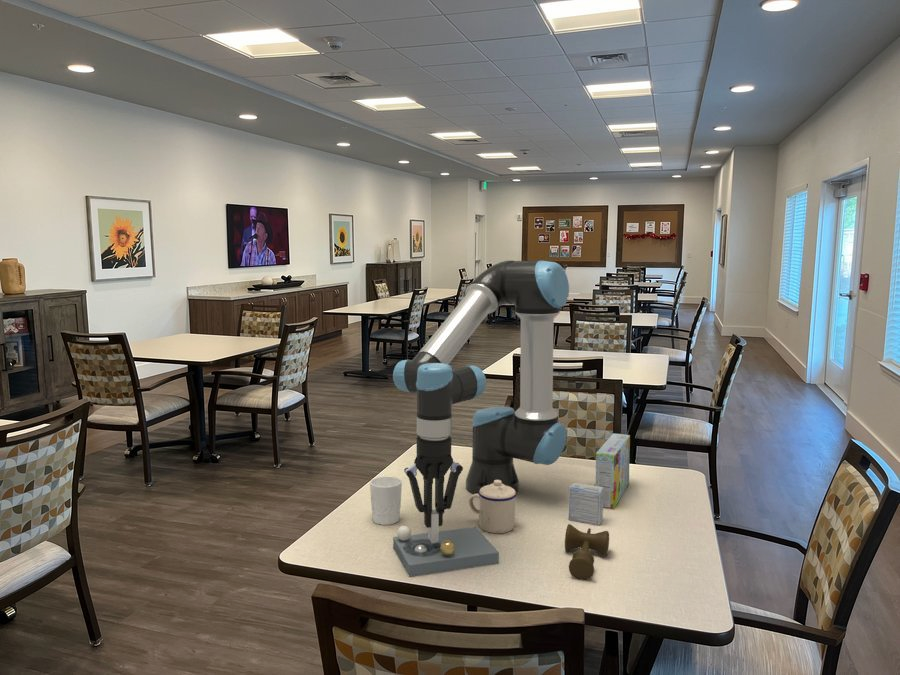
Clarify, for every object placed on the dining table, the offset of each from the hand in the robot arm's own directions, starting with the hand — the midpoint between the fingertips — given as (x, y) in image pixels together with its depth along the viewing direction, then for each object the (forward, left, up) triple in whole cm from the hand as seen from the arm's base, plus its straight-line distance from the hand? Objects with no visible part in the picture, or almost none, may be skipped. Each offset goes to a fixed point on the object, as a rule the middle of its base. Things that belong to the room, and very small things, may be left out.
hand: (433, 540), depth 143 cm
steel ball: (+3, 0, -2) cm, 4 cm away
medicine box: (-43, -8, -4) cm, 44 cm away
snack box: (-59, -21, -4) cm, 62 cm away
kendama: (-32, +11, -4) cm, 34 cm away
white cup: (+5, -23, -4) cm, 24 cm away
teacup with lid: (-19, -12, -4) cm, 23 cm away
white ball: (+5, -5, 0) cm, 7 cm away
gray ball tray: (-3, 0, -4) cm, 5 cm away
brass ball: (-2, +5, 0) cm, 5 cm away
